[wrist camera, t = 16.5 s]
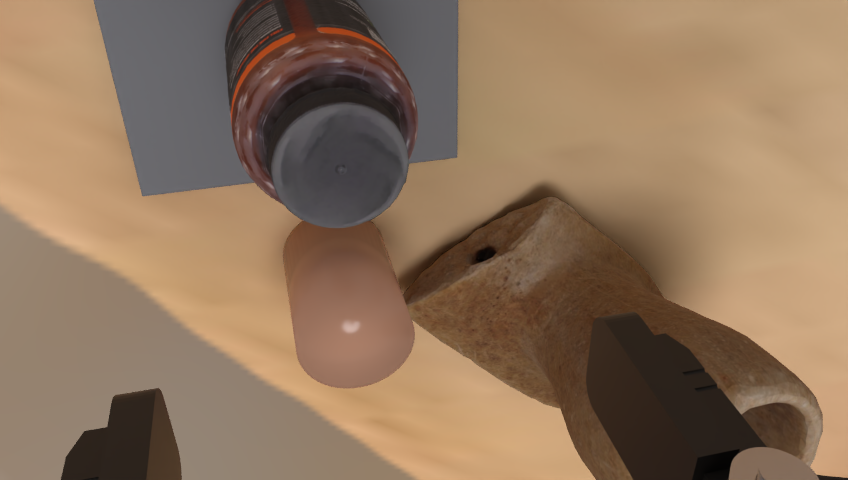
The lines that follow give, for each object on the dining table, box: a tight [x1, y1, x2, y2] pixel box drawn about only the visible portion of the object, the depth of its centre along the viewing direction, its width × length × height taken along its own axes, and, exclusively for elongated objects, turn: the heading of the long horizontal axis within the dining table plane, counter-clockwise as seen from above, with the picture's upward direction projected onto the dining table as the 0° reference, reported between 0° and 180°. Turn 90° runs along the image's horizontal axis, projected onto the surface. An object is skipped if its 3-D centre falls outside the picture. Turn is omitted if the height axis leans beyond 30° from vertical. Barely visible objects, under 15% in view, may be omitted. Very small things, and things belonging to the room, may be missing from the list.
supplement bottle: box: [225, 0, 418, 228], centre depth 26 cm, size 6×6×11 cm
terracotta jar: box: [283, 221, 415, 388], centre depth 35 cm, size 5×5×7 cm
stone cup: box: [403, 197, 823, 480], centre depth 36 cm, size 15×12×15 cm
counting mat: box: [94, 0, 458, 196], centre depth 31 cm, size 14×12×1 cm
